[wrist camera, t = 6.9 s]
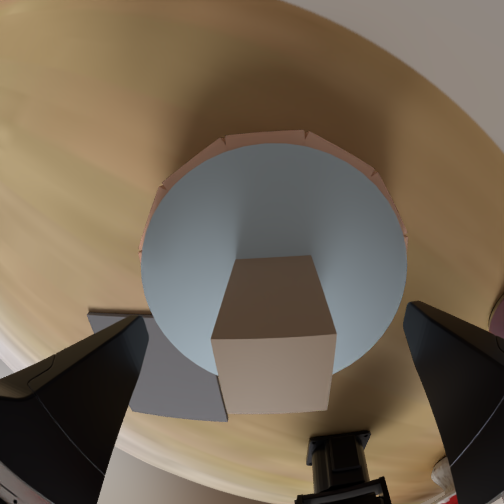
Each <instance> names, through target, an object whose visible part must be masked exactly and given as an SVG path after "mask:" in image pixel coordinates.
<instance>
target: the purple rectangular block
mask: <svg viewBox="0 0 504 504" xmlns="http://www.w3.org/2000/svg"><path fill="white" fill-rule="evenodd" d="M489 332H490V333H492V334H494V335H495V336H496V335H497V336H499V337H501V338H503V339H504V295H503V296H502V297H501V298H500V299H499V301H498V302H497V304H496V305H495V307H494V309H493V311H492V313H491V316H490V320H489Z"/></svg>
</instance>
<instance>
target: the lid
mask: <svg viewBox="0 0 504 504" xmlns="http://www.w3.org/2000/svg"><path fill="white" fill-rule="evenodd" d="M406 274H407V255H406V246H405V241H404V237H403V232H402V230H401V227H400V224H399V222H398V219H397V216H396V215H395V213H394V211H393V209H392V207H391V206H390V204H389V202H388V200H387V199H386V198H385V197H384V195H383V194H382V193H381V191H380V190H379V189H378V188H377V186H376V185H375V184H374V183H372V182H371V181H370V180H369V179H368V178H367V177H366V176H365V175H364V174H363V173H362V172H360V171H359V170H357V169H356V168H354V167H353V166H351V165H350V164H348V163H347V162H345V161H343V160H341V159H339V158H337V157H335V156H333V155H331V154H329V153H326V152H323V151H320V150H317V149H314V148H310V147H306V146H300V145H294V144H287V143H264V144H257V145H250V146H243V147H240V148H237V149H233V150H230V151H227V152H223V153H221V154H219V155H217V156H215V157H213V158H211V159H208V160H206V161H204V162H203V163H201V164H200V165H198V166H197V167H195V168H194V169H192V170H191V171H189V172H188V173H187V174H186V175H185V176H183V177H182V178H181V179H180V180H179V181H178V182H177V183H176V184H175V185H174V186H173V187H172V188H171V189H170V190H169V192H168V193H167V194H166V195H165V197H164V198H163V199H162V201H161V202H160V204H159V206H158V207H157V209H156V211H155V212H154V214H153V216H152V218H151V221H150V223H149V226H148V228H147V231H146V234H145V239H144V243H143V247H142V257H141V275H142V283H143V288H144V293H145V297H146V300H147V303H148V306H149V309H150V311H151V313H152V315H153V317H154V319H155V321H156V323H157V324H158V326H159V327H160V329H161V330H162V332H163V333H164V335H165V336H166V337H167V338H168V339H169V341H170V342H171V343H172V344H173V345H174V346H175V347H176V348H177V349H178V350H179V351H180V352H181V353H182V354H183V355H184V356H186V357H187V358H188V359H190V360H191V361H192V362H194V363H195V364H197V365H198V366H200V367H202V368H203V369H205V370H207V371H209V372H211V373H213V374H215V375H218V377H219V381H220V385H221V389H222V394H223V398H224V402H225V406H226V410H227V413H228V414H280V413H299V412H313V411H324V410H327V407H328V401H329V394H330V387H331V380H332V374H334V373H336V372H338V371H340V370H342V369H344V368H346V367H347V366H349V365H350V364H352V363H353V362H355V361H356V360H358V359H359V358H360V357H362V356H363V355H364V354H365V353H366V352H367V351H368V350H369V349H371V348H372V347H373V345H374V344H375V343H376V342H377V341H378V340H379V339H380V338H381V336H382V335H383V334H384V332H385V331H386V329H387V328H388V326H389V325H390V323H391V322H392V320H393V318H394V316H395V314H396V312H397V310H398V307H399V304H400V302H401V299H402V296H403V292H404V287H405V283H406Z"/></svg>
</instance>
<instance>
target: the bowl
mask: <svg viewBox="0 0 504 504" xmlns="http://www.w3.org/2000/svg"><path fill="white" fill-rule="evenodd" d="M264 143H287V144H294V145H300V146H306V147H310V148H314V149H317V150H320V151H323V152H326V153H329V154H331V155H333V156H335V157H337V158H339V159H341V160H343V161H345V162H347V163H348V164H350V165H351V166H353V167H354V168H356V169H357V170H359V171H360V172H362V173H363V174H364V175H365V176H366V177H367V178H368V179H369V180H370V181H371V182H372V183H374V184H375V185H376V186H377V188H378V189H379V190H380V191H381V193H382V194H383V195H384V197H385V198H386V199H387V200H388V202H389V204H390V206H391V207H392V209H393V211H394V213H395V215H396V216H397V219H398V222H399V224H400V227H401V230H402V232H403V237H404V241H405V246H406V255H407V245H408V237H407V236H406V235H405V234H407V230H406V228H405V226H404V224H403V221H402V219H401V217H400V215H399V213H398V210H397V208H396V206H395V204H394V202H393V200H392V198H391V196H390V194H389V192H388V190H387V188H386V186H385V184H384V182H383V180H382V178H381V176H380V175H379V173H378V172H375V171H374V169H375V168H373V167H372V166H370V165H368V164H367V163H365V162H364V161H362V160H360V159H359V158H357V157H355V156H354V155H352V154H350V153H348V152H347V151H345V150H343V149H342V148H340V147H338V146H336V145H334V144H333V143H331V142H329V141H327V140H325V139H324V138H322V137H320V136H318V135H316V134H314V133H312V132H310V131H308V132H306V133H304V130H286V131H269V132H255V133H244V134H234V135H225V139H224V138H219V139H217V140H216V141H214V142H213V143H212V144H210V145H209V146H208V147H206V148H205V149H204V150H202V151H201V152H200V153H198V154H197V155H196V156H194V157H193V158H192V159H190V160H189V161H188V162H187V163H185V164H184V165H183V166H182V167H180V168H179V169H178V170H177V171H175V172H174V173H173V174H172V175H170V176H169V177H168V178H167V179H166V180H164V181H163V182H162V184H163V185H162V186H159V188H158V191H157V193H156V196H155V199H154V202H153V205H152V208H151V210H150V213H149V216H148V219H147V223H146V226H145V229H144V232H143V235H142V238H141V242H140V245H139V248H138V249H140V250H141V251H140V252H139V253H138V254H139V258H140V263H141V257H142V247H143V243H144V239H145V234H146V231H147V228H148V226H149V223H150V221H151V218H152V216H153V214H154V212H155V211H156V209H157V207H158V206H159V204H160V202H161V201H162V199H163V198H164V197H165V195H166V194H167V193H168V192H169V190H170V189H171V188H172V187H173V186H174V185H175V184H176V183H177V182H178V181H179V180H180V179H181V178H182V177H183V176H185V175H186V174H187V173H188V172H189V171H191V170H192V169H194V168H195V167H197V166H198V165H200V164H201V163H203V162H204V161H206V160H208V159H211V158H213V157H215V156H217V155H219V154H221V153H223V152H227V151H230V150H233V149H237V148H240V147H243V146H250V145H257V144H264Z"/></svg>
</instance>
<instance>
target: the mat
mask: <svg viewBox="0 0 504 504" xmlns="http://www.w3.org/2000/svg"><path fill="white" fill-rule="evenodd" d="M130 315H135V314H111V313H93V312H89V313H88V314H87V317H88V319H89V322H90V324H91V327H92V329H93V332H94V334H95V333H97V332H99V331H101V330H103V329H104V328H106V327H108V326H110V325H112V324H114V323H116V322H118V321H120V320H122V319H124V318H126V317H128V316H130ZM141 316H142V317H143V318H144V321H145V324H146V328H147V331H148V334H149V342H148V346H147V350H146V353H145V357H144V361H143V365H142V368H141V372H140V375H139V378H138V381H137V384H136V386H135V389H134V392H133V394H132V397H131V400H130V402H129V406H130V408H131V410H132V411H134V412H140V413H145V414H152V415H158V416H165V417H173V418H182V419H192V420H203V421H219V422H228V417H227V413H226V409H225V405H224V401H223V397H222V393H221V389H220V385H219V381H218V376H217V375H215V374H213V373H211V372H209V371H207V370H205V369H203V368H202V367H200V366H198V365H197V364H195V363H194V362H192V361H191V360H190V359H188V358H187V357H186V356H184V355H183V354H182V353H181V352H180V351H179V350H178V349H177V348H176V347H175V346H174V345H173V344H172V343H171V342H170V341H169V339H168V338H167V337H166V336H165V335H164V333H163V332H162V330H161V329H160V327H159V326H158V324H157V323H156V321H155V319H154V317H153V315H141Z"/></svg>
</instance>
